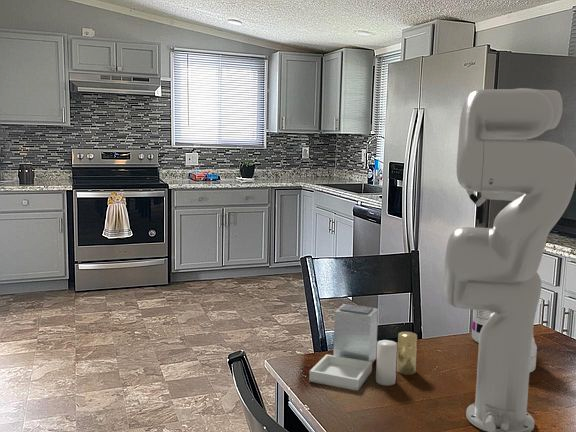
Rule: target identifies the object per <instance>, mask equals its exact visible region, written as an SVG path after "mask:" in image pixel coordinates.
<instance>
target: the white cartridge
mask: <svg viewBox="0 0 576 432" xmlns="http://www.w3.org/2000/svg"><path fill="white" fill-rule="evenodd" d="M397 353H398V342H396V341H394V340H389V339H382V340H377V349H376V370H375V382H376V383H378V385H381V386H394V385H395V384H396V379H397V378H396V377H397Z"/></svg>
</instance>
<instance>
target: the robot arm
mask: <svg viewBox="0 0 576 432" xmlns="http://www.w3.org/2000/svg"><path fill="white" fill-rule="evenodd" d="M563 106H564V105H563V99H562V96H561V93H560V92H559V91H558V90H554V89H536V88H528V87H527V88H526V87H520V88H512V89H511V88H509V89H508V88H506V89H505V88H500V89H495V88H492V89H491V88H490V89H487V88H486V89H484V88H483V89H476V90H474V91H472V92H470V93H469V94H468V95H467V97H466V98H465V100H464V103H463V105H462V109H461V113H460V118H459V119H460V120H459V127H458V128H459V129H458V144H457V155H456V156H457V157H456V178H457V181H458V183H459V185H460V186H461V187H462V188H463V189H464V190H465V191H466V193H467V195H468V196H469V199H470V200H471V201H472V203H474V205H475V206H476V216H475V218H476V220H477V221H478V224H480V225H481V224H483V223H484V218H485V205H484V203H485V202H486V201H487V200H493V201H494V200H496V201H508V202H509V201H511V202H509V203H508V204H507V205H506V206H505V207H504V208H502V210H500V211H499V212H498V213H497V215H496V216H495V218H494V221H493V225H492V226H493V227H476V226H474V227H471V226H468V227H467V226H465V227H459V228H457V229H455V230H454V231H453V232H452V233H451V234H449V237H448V240H447V244H446V248H445V249H446V250H445V261H444V275H443V276H444V278H443V279H444V280H443V288H444V289H443V290H444V296H445V299H446V301H447V302H448V304H449V305H450V306H452V307H453V308H457V309H463V310H471V311H473V310H481V311H489V312H494V314H493V315H492V316H491V317H490V318H489V319H488V320H487V321H486V322H485V324H484V325H483V327H482V328H481V331H480V335H479V343H478V348H477V349H478V351H477V352H478V354H477V365H476V383H475V399H474V402H473V403H472V404H469V405H468V407H467V408H466V411H465V413H466V415H465V416H466V419H467V420H468V422H469V423H470V424H472V425H473V426H474V427H476V428H477V429H479V430H481V431H484V432H533V431H534V428H535V418H533V416H532V415H531V414H530V413H529V412H528V409H527V408H528V396H529V385H530V373H531V372H530V359H531V346H532V334H533V335H534V327H535V326H534V325H535V318H536V314H537V309H538V306H539V301H540V297H541V293H542V279H541V276H540V274H539V273H538V272H537V271H538V269H539V267H540V265H541V262H542V258H543V255H544V251H545V246H546V243H547V239H548V236H549V234H550V232H551V231H552V229H553V228H554V227H555V225H556V224H557V223H558V221H559V220H560V219H561V218H562V216H563V214H564V213H565V211H566V210H567V208H568V206H569V204H570V201H571V199H572V196H573V193H574V191H575V187H576V156H575V155H576V154H575V153H574V151H573V150H571V149H570V148H569V147H568V146H565V145H563V144H561V143H557V142H553V141H547V140H537V139H534V138H538V137H539V136H541V135H542V134H544V133H545V132H546V131H549V130H550V131H551V130H553V129H555V128H557V127H558V125H559V123H560V121H561V118H562V114H563ZM532 139H534V140H532ZM475 192H476V193H480V198H479V197H478V196H477V195H476V194H475Z"/></svg>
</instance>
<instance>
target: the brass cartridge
mask: <svg viewBox="0 0 576 432" xmlns="http://www.w3.org/2000/svg"><path fill="white" fill-rule="evenodd" d="M417 346H418V334H417V333H415V332H412V331H401V332H398V335H397V357H396V373H398V374H401V375H406V376H407V375H408V376H410V375H414V374H416V372H417V371H416V367H417V349H418V347H417Z"/></svg>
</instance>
